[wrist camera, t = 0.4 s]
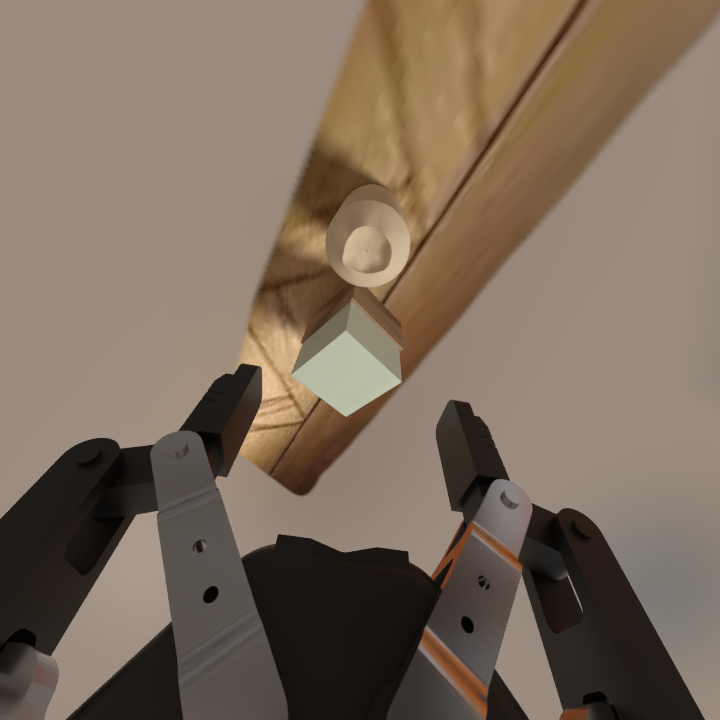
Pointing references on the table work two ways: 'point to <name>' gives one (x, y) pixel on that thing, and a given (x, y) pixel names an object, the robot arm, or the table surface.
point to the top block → (348, 361)
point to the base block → (366, 304)
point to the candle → (368, 237)
